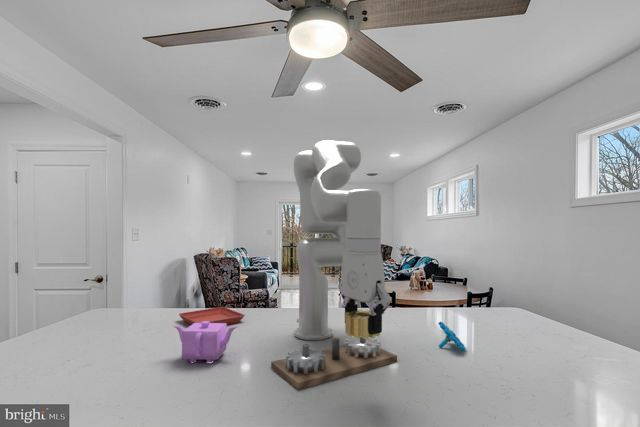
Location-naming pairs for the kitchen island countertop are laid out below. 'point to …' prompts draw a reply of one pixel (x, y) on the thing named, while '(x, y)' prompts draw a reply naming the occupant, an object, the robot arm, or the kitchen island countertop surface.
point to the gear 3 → (450, 337)
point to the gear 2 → (363, 347)
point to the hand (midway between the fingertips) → (362, 327)
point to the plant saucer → (212, 316)
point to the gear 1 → (305, 360)
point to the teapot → (204, 340)
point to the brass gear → (358, 324)
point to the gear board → (333, 366)
